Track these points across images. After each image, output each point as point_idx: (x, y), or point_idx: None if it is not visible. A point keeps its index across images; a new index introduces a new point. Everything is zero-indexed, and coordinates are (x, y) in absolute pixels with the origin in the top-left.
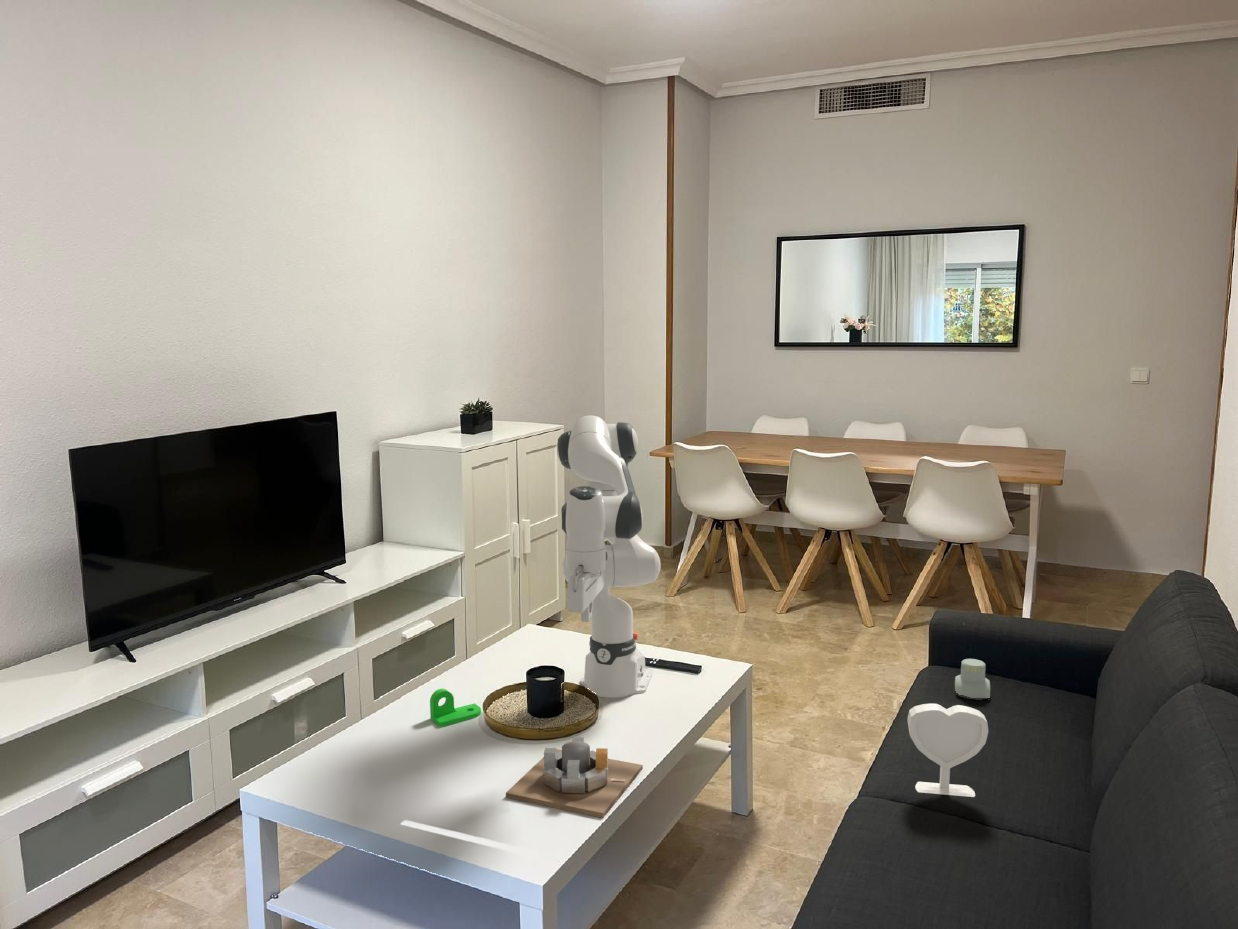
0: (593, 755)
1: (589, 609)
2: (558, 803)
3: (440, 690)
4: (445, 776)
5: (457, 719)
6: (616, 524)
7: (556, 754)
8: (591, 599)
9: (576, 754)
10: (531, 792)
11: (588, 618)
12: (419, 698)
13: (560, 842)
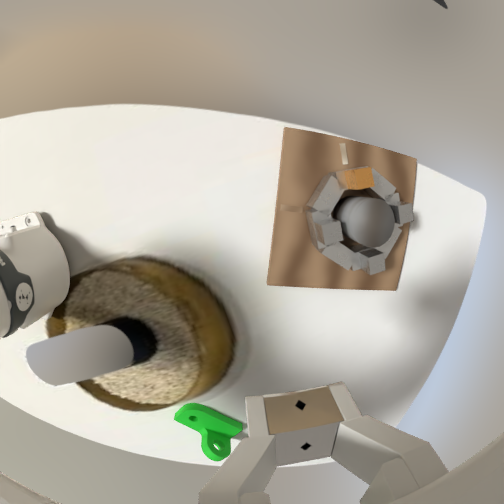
0: (329, 200)
1: (267, 455)
2: None
3: (217, 459)
4: (353, 369)
5: (223, 420)
6: None
7: (338, 260)
8: (486, 485)
9: (393, 215)
10: (392, 261)
11: (350, 395)
12: (176, 456)
13: (452, 195)
